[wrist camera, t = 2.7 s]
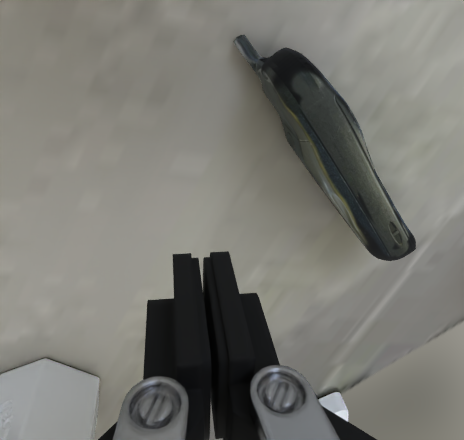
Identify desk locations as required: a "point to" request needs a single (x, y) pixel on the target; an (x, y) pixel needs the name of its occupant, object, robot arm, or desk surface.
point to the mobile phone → (331, 148)
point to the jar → (48, 402)
